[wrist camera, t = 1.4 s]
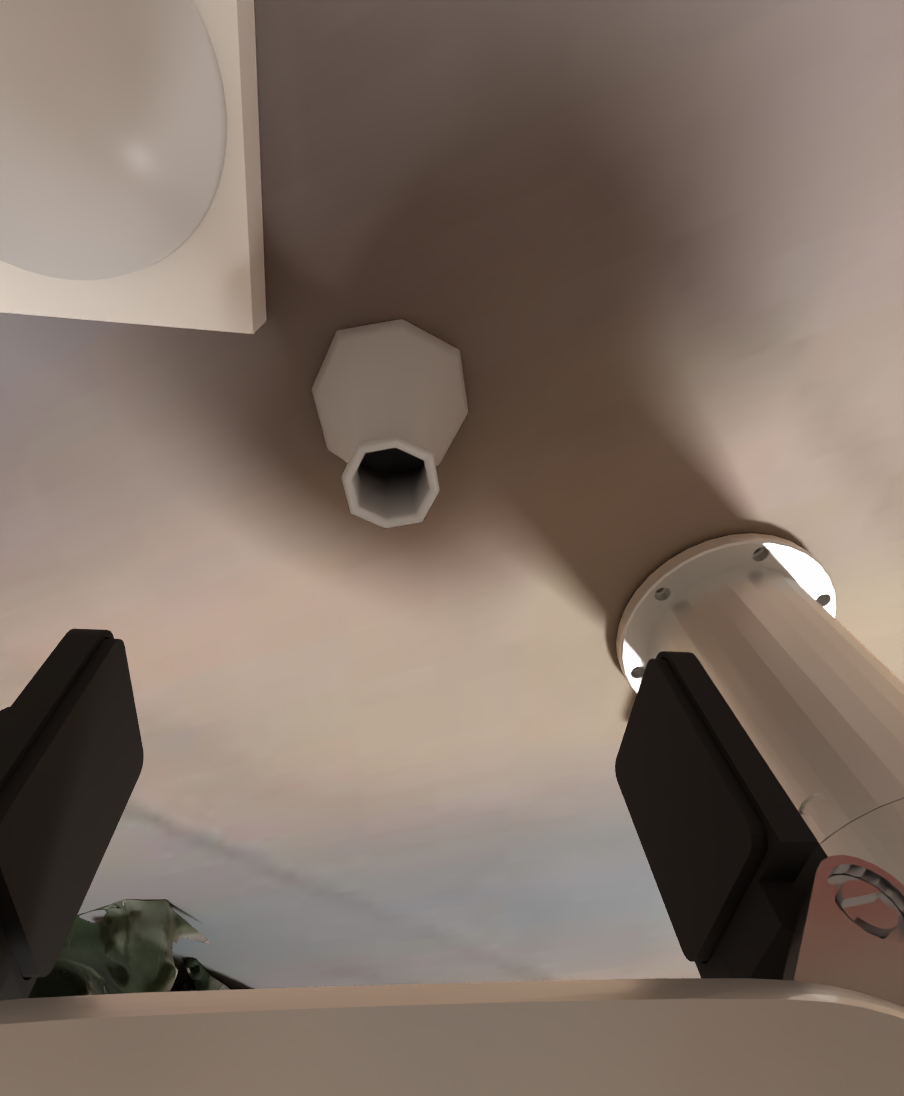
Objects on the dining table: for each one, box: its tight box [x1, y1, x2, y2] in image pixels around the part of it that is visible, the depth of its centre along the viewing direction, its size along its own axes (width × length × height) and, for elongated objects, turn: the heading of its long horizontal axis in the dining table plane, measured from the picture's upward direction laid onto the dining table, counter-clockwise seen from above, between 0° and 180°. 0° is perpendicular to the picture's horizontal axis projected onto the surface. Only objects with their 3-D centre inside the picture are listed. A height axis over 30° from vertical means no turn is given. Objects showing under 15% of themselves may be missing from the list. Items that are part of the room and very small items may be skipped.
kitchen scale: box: [0, 0, 267, 334], centre depth 21 cm, size 15×14×4 cm
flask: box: [311, 319, 469, 528], centre depth 25 cm, size 7×7×10 cm
